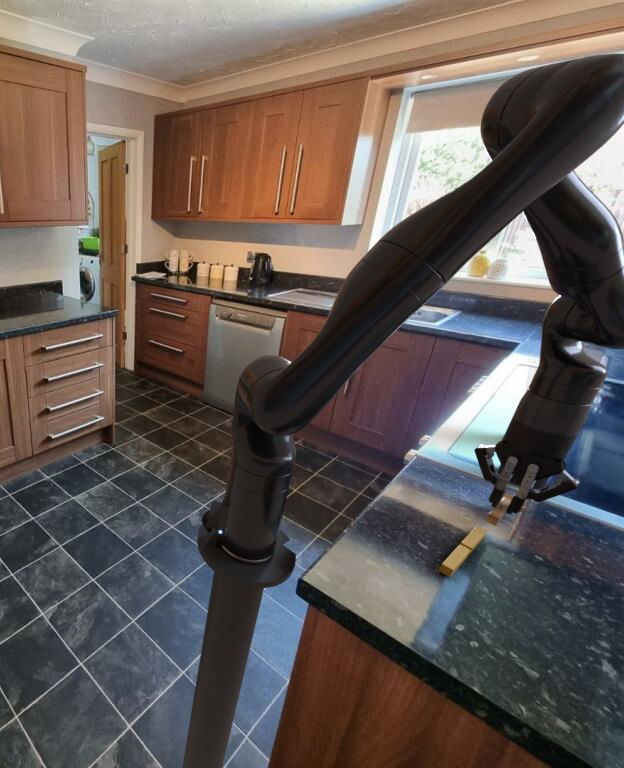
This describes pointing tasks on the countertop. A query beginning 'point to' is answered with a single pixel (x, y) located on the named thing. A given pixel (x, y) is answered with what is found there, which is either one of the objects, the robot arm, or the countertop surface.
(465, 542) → the bar
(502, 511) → the spoon
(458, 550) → the bar
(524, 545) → the countertop surface
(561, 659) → the countertop surface
